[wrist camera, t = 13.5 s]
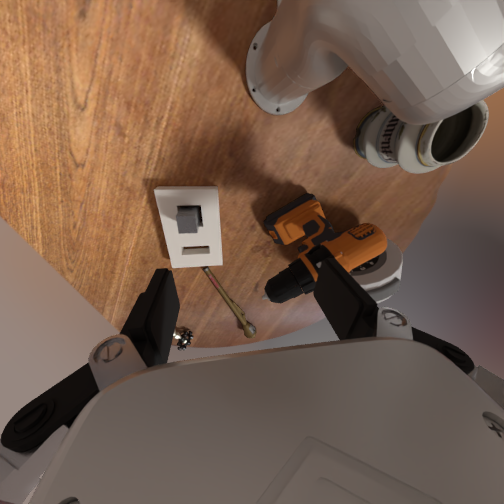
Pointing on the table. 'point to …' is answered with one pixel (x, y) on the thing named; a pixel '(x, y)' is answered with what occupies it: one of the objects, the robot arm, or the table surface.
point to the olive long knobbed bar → (233, 306)
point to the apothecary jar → (419, 139)
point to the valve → (183, 339)
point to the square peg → (188, 219)
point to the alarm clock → (381, 273)
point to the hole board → (206, 236)
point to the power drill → (316, 246)
